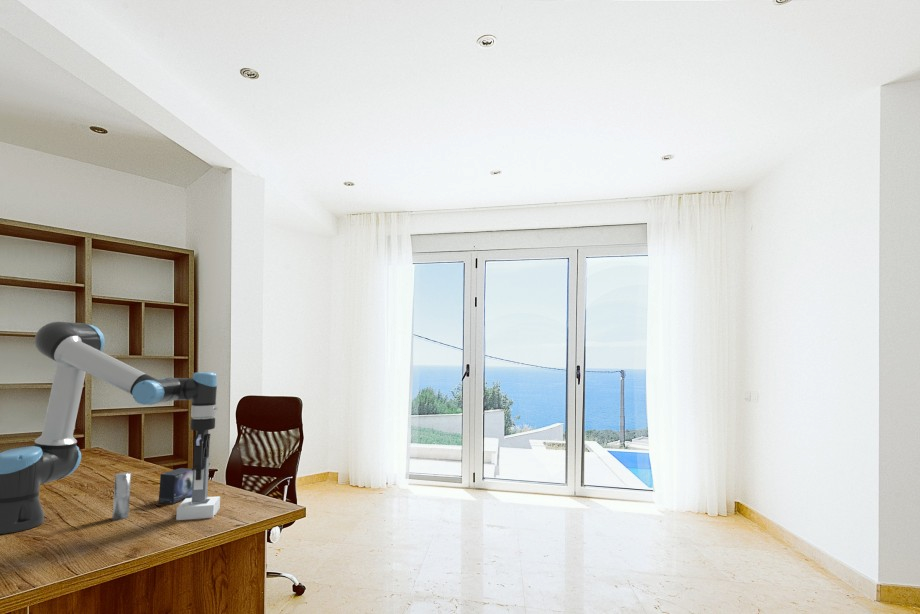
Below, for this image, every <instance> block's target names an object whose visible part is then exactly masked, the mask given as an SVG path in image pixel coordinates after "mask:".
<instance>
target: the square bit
mask: <svg viewBox="0 0 920 614" xmlns="http://www.w3.org/2000/svg"><path fill="white" fill-rule="evenodd" d="M209 463H210V455H209V456H205V457H204V463H203V469H204V479H203V489H201V490H194V473H195V470H193V484H192V497H191V498H192V502H201V501H205V500H206V499H207V497H209V495H208V492H209V491H208V490H209V489H208V488H209V474H210V473H209V471H210V469H209V468H210V465H209Z"/></svg>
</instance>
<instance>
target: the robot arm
mask: <svg viewBox="0 0 920 614" xmlns="http://www.w3.org/2000/svg"><path fill="white" fill-rule="evenodd" d="M105 342H106V340H105V335H104V334H103V332H102V331H101V330H100V328H98V327H97V326H95V325H93V324H89V323H83V322H66V321H52V322H50V323H46V324H45V325H43V326H42V327H40V328H39V329H38V330H37V332H36V334H35V337H34V345H35V347H36V349H37V351H38V352H40V354H42V355H44V356H45V357H47V358H49V359H50V360H51V361H52V362H53V363H54V364H55V370H54V375H53V380H52V384H51V389H50V394H49V399H48V404H47V408H46V413H45V417H44V423H43V426H42V431H41V435H40V436H38V437H37V438H36V439H34V443H33V446H30V445H29V446H21V447H18V448H10V449H7V450H4V451H2V452H0V535H4V534H11V533H15V532H16V533H17V532H18V533H19V532H22V531H25V530H30V529H32V528H36V527H38V526H41V525H42V524H43V523H44V522H45V512H44V509H43V506H42V503H41V501H40V486H41V485H44V484H47V483H50V482H51V483H52V482H54V481H58V480H61V479H62V480H63V479H64V478H65V477H68V476H70V475H71V474H72V473H74V472H75V471H76V470H77V469H78V467H79V466H80V464H81V460H82V452H81V451H80V447H79V446H77V443H78V440H77V439H76V438H75V437H74V432H75V426H76V422H77V421H76V420H77V416H78V412H79V408H80V403H81V397H82V392H83V387H84V383H85V380H86V378H85V377H86V373H87V374H90V375H91V376H93V377H94V378H95V377H96V378H97V379H99V380H101V381H103V382H105V383H107V384H109V385H111V386H114V387H115V388H118V389H119V390H121V391H123V392H125V393H127V394H130V395H131V396H132V398H133V400H134V401H135V403H138V404H139V405H148V406H150V405H155V404H160V403H166V402H172V401H191V407H190V409H191V411H190V417H191V419H190V430H192V431H195V432H196V435H195V436H194V440H193V459H192V460H193V465H192V468H191V469H192V470H195V473H194V490H201V489H203V479H204V469H203V463H204V457H205V456H209V457H210V443H211V441H210V439H211V436H212V435H211V433H209V431H211V430H214V429H215V427H216V418H215V417H216V411H218V407H216V405H217V392H218V391H217V388H218V378H217V377H218V376H217V373H216V372H212V371H207V372H206V371H200V372H193V375H192V377H189V378H187V377H162V378H159V379H157V378H156V377H153V376H152V375H149V374H147V373H146V372H143V371H141V370H139V369H137V368H135V367H133V366H131V365H129V364H127V363H125V362H124V361H121V360H119V359H117V358H115V357H113V356H111V355H109V354H107V353H105V352H103V350H104V347H105V344H106V343H105ZM210 465H211V463H210V462H209V466H210Z"/></svg>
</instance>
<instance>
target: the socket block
mask: <svg viewBox="0 0 920 614" xmlns="http://www.w3.org/2000/svg"><path fill="white" fill-rule="evenodd" d="M220 507H221V496H219V495H218V496H207V499H206V500H205V501H201V502H192V497H191V498H186V499H185V500H182V501H181V502H180V504H179V505H178V506H177V507H176V516H175V518H176V519H175V520H176V521H185V520H187V521H188V520H199V519H213V518H214V517H215V516H216V515H217V513H218V512H219V510H220ZM214 515H215V516H214Z"/></svg>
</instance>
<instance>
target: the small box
mask: <svg viewBox="0 0 920 614" xmlns="http://www.w3.org/2000/svg"><path fill="white" fill-rule="evenodd" d="M192 484H193V470H192V468H185V467H180V468H176V469H173V470H170V471H167V472H162V473H160V478H159V493H158V494H159V495H158V500H157V501H158V502H157V503H158V504H165V505H174V504H177V503H179V502H180V503H181V502H183V501H184V500H185V499H186V498H192Z"/></svg>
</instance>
